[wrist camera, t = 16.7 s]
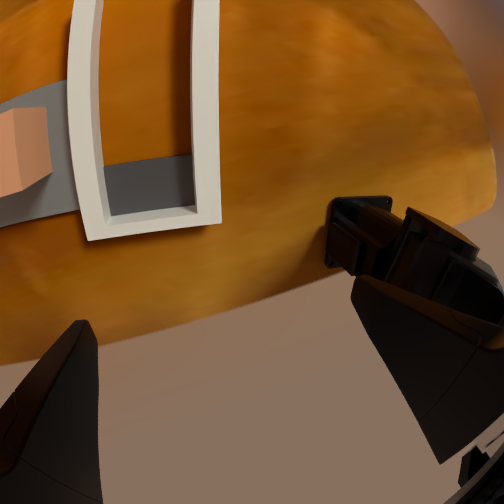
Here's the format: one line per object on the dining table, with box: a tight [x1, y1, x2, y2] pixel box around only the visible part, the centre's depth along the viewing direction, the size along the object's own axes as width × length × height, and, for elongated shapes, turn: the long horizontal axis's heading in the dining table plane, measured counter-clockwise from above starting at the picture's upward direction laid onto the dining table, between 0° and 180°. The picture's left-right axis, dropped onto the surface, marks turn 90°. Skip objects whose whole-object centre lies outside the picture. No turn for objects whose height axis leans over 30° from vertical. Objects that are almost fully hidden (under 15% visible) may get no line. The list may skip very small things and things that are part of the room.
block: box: [0, 107, 53, 197], centre depth 10 cm, size 4×4×4 cm
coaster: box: [0, 79, 80, 227], centre depth 13 cm, size 9×9×1 cm
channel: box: [67, 0, 222, 241], centre depth 13 cm, size 9×17×2 cm, turn 0°
